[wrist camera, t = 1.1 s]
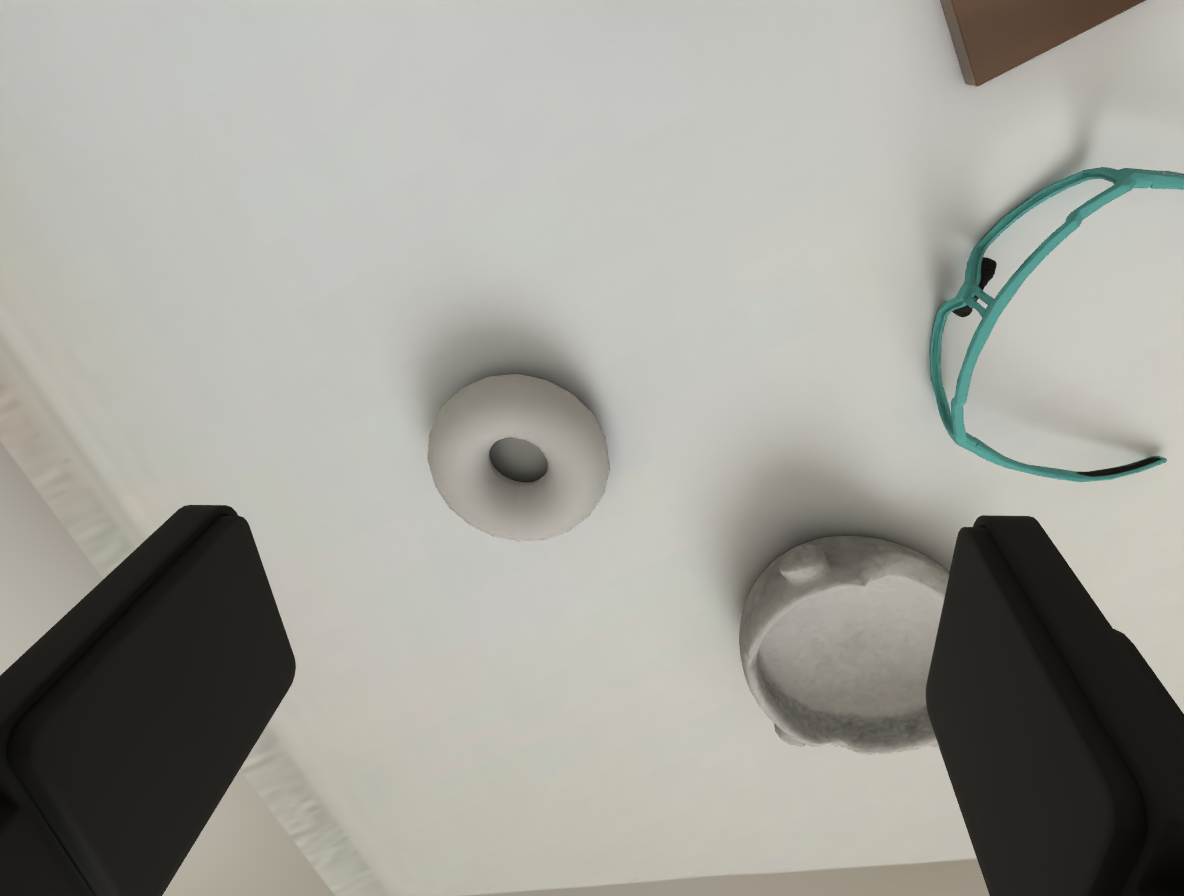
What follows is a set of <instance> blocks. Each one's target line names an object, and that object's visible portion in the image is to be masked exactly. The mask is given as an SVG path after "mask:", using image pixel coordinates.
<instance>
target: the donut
mask: <svg viewBox="0 0 1184 896" xmlns="http://www.w3.org/2000/svg"><path fill="white" fill-rule="evenodd" d="M509 437H515V438H519V439H524V440H527V441H528V442H530V443H532V444H534V445H536V446H537V447H538V448H539V449H540V450H541V451H542V452H543V453H544V455H545V457H546V459H547V463H548V470H547V472H546V474H545V475H544V476H543V477H542V478H540V479H539V480H537V481H534V482H518V481H514V480H511V479H509V478H507V477H505V476H503V475H502V474H501V473H500V472H498V471H497V470H496V469H495V468H494V466H493V465H492V463H491V460H490V455H489V451H490V448H491V447H492V445H493V444H494V443H495V442H496V441H498V440H501V439H503V438H509ZM428 462H429V466H430V469H431V473H432V476H433V480H434V483H435V486H436V488H437V489H438V491H439V493H440V494H441V496H442V497H443V499H444V500H445V502H446V503H447V505H448V506H449V508H450V509H452V510H453V511H454V512H455V513H456V514H457V515H459V516H460V517H461V518H462V519H463V520H464V521H465V522H467V523H468V524H469V525H471V526H473V527H475V528H477V529H479V530H481V531H483V532H485V533H487V534H489V535H491V536H495V537H499V538H504V539H509V540H513V541H536V540H545V539H548V538H551V537H554V536H557V535H560V534H563V533H565V532H568V531H570V530H571V529H572V528H574V527H575V526H576V525H578V524H579V523H580V522H582V521H583V520H584V519H586V518H587V517H588V516H589V515H590V514H591V512H592V511H593V509H594V508H595V506H596V505H597V503H598V502H599V500H600V499H601V497H602V496H603V494H604V492H605V487H606V483H607V478H608V474H609V469H610V465H609V458H608V451H607V444H606V438H605V436H604V434H603V432H602V430H601V428H600V426H599V425H598V423H597V421H596V419H595V417H594V415H593V414H592V413H591V412H590V411H589V410H588V409H587V408H586V407H585V406H584V405H583V404H582V403H581V402H580V401H579V400H578V399H577V398H576V397H575V396H574V395H573V394H572V393H570V392H568V391H566V390H564V389H562V388H561V387H559V386H557V385H555V384H553V383H551V382H549V381H547V380H544V379H540V378H535V377H530V376H525V375H521V374H509V375H498V376H488V377H486V378H484V379H481V380H479V381H477V382H474V383H472V384H470V385H467V386H465V387H463V388H462V389H461V390H460V391H459V392H457V393H456V394H455V395H454V396H453V397H452V398H451V399H450V400H449V401H448V402H447V403H446V404H445V405H444V406H442V407H441V410H440V412H439V414H438V416H437V418H436V420H435V422H434V424H433V426H432V428H431V431H430V434H429V447H428Z"/></svg>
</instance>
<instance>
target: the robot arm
mask: <svg viewBox="0 0 1184 896" xmlns="http://www.w3.org/2000/svg"><path fill="white" fill-rule="evenodd" d="M295 669H296V666H295V658H294V655H293V652H292V649H291V646H290V643H289V640H288V637H287V634H286V631H285V629H284V626H283V623H282V620H281V617H280V614H279V611H278V608H277V605H276V602H275V599H274V597H273V594H272V591H271V588H270V585H269V582H268V579H267V576H266V573H265V570H264V567H263V565H262V562H261V559H260V556H259V553H258V550H257V547H256V544H255V541H254V538H253V535H252V533H251V530H250V527H249V524H248V522H247V521H246V520H245V519H244V518H243V517H240V516H238V515H237V513H236V511H235V510H234V509H233V508H232V507H229V506H226V505H188V506H184V507H182V508H180V509H179V510H178V511H177V512H175V513H174V514H173V515H172V516H171V517H170V518H169V519H168V520H167V521H166V522H165V523H164V524H163V525H161V526H160V527H159V528H158V529H157V530H156V531H155V532H154V533H153V534H152V535H151V536H150V537H149V538H148V539H146V540H145V541H144V542H143V543H142V544H141V545H140V546H139V547H138V548H137V549H136V550H135V551H134V552H133V553H131V554H130V555H129V556H128V557H127V558H126V559H125V560H124V561H123V562H122V563H121V564H120V565H119V566H118V567H116V568H115V569H114V570H113V571H112V572H111V573H110V574H109V575H108V576H107V577H106V578H105V579H104V580H102V581H101V582H100V583H99V584H98V585H97V586H96V587H95V588H94V589H93V590H92V591H91V592H90V593H89V594H87V596H85V597H84V598H83V599H82V600H81V601H80V602H79V603H78V604H77V605H76V606H75V607H74V608H72V609H71V610H70V611H69V612H68V613H67V614H66V615H65V616H64V617H63V618H62V619H61V620H60V621H59V622H58V623H56V624H55V625H54V626H53V627H52V628H51V629H50V630H49V631H48V632H47V633H46V634H45V635H44V636H43V637H41V638H40V639H39V640H38V641H37V642H36V643H35V644H34V645H33V646H32V647H31V648H30V649H28V650H27V651H26V652H25V653H24V654H23V655H22V656H21V657H20V658H19V659H18V660H17V661H16V662H15V663H14V664H12V665H11V666H10V667H9V668H8V669H7V670H6V671H5V672H4V673H3V674H2V675H1V676H0V896H162V895H163V893H164V891H165V890H166V888H167V887H168V885H169V884H170V882H171V880H172V878H173V877H174V875H175V874H176V872H177V870H178V869H179V867H180V866H181V864H182V862H183V861H184V859H185V857H186V856H187V854H188V852H189V851H190V849H191V848H192V846H193V844H194V843H195V841H196V839H197V838H198V836H199V834H200V833H201V831H202V830H203V828H204V826H205V825H206V823H207V822H208V820H209V818H210V817H211V815H212V813H213V812H214V810H215V808H216V807H217V805H218V804H219V802H220V800H221V799H222V797H223V796H224V794H225V792H226V791H227V789H228V787H229V785H230V784H231V783H232V781H233V779H234V777H235V776H236V774H237V773H238V771H239V769H240V768H241V766H242V765H243V763H244V761H245V760H246V758H247V756H248V755H249V753H250V752H251V750H252V748H253V747H254V745H255V743H256V742H257V740H258V739H259V737H260V735H261V734H262V732H263V730H264V729H265V727H266V726H267V724H268V722H269V721H270V719H271V717H272V716H273V714H274V712H275V711H276V709H277V708H278V706H279V704H280V703H281V701H282V699H283V698H284V696H285V695H286V693H287V691H288V690H289V688H290V686H291V684H292V682H293V679H294V676H295ZM926 706H927V712H928V715H929V719H930V722H931V725H932V728H933V730H934V733H935V736H936V739H937V742H938V745H939V748H940V751H941V754H942V757H943V760H944V763H945V766H946V769H947V771H948V774H949V777H950V780H951V783H952V786H953V789H954V792H955V795H956V798H957V801H958V804H959V807H960V810H961V812H962V815H963V818H964V821H965V824H966V827H967V830H968V833H969V836H970V839H971V842H972V845H973V848H974V851H975V853H976V856H977V859H978V862H979V865H980V868H981V871H982V874H983V877H984V880H985V883H986V886H987V889H988V891H989V894H990V896H1184V714H1183V713H1182V711H1181V710H1180V708H1179V707H1178V706H1177V704H1176V703H1175V701H1174V700H1173V699H1172V697H1171V696H1170V694H1169V693H1168V692H1167V690H1166V689H1165V687H1164V686H1163V685H1162V683H1161V682H1160V680H1159V679H1158V678H1157V676H1156V675H1155V673H1154V672H1153V671H1152V669H1151V668H1150V666H1149V665H1148V664H1147V662H1146V661H1145V659H1144V658H1143V657H1142V655H1141V654H1140V652H1139V651H1138V650H1137V648H1136V647H1135V645H1134V644H1133V643H1132V642H1131V641H1130V640H1129V639H1128V638H1127V637H1126V636H1125V634H1123V633H1121V632H1119V631H1117V630H1115V629H1113V628H1112V627H1111V625H1110V624H1109V622H1108V621H1107V620H1106V618H1105V617H1104V615H1103V614H1102V612H1101V611H1100V610H1099V608H1098V607H1097V605H1096V604H1095V602H1094V601H1093V600H1092V598H1091V597H1090V595H1089V594H1088V592H1087V591H1086V590H1085V588H1084V587H1083V585H1082V584H1081V582H1080V581H1079V579H1078V578H1077V577H1076V575H1075V574H1074V572H1073V571H1072V569H1071V568H1070V567H1069V565H1068V564H1067V562H1066V561H1065V559H1064V558H1063V557H1062V555H1061V554H1060V552H1059V551H1058V549H1057V548H1056V547H1055V545H1054V544H1053V542H1052V541H1051V539H1050V538H1049V537H1048V535H1047V534H1046V532H1045V531H1044V529H1043V528H1042V527H1041V525H1040V524H1039V522H1038V521H1037V520H1036V519H1035V518H1033V517H1030V516H980V517H978V518H977V520H976V521H975V523H974V526H973V527H963V528H961V530H960V531H959V533H958V537H957V541H956V545H955V550H954V555H953V560H952V564H951V569H950V574H949V579H948V583H947V588H946V593H945V598H944V603H943V607H942V612H941V617H940V622H939V626H938V631H937V636H936V641H935V645H934V650H933V655H932V660H931V664H930V669H929V674H928V679H927V684H926Z"/></svg>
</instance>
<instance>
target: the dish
mask: <svg viewBox="0 0 1184 896" xmlns="http://www.w3.org/2000/svg"><path fill="white" fill-rule="evenodd" d="M949 574H950V573H949V572H948V571H946V570H945V569H944V568H943V567H941V566H940V565H939V564H937V563H936V562H934V561H933V560H931V559H930V558H928V557H926V556H924V555H922V554H920V553H918V552H916V551H914V550H912V549H909V548H907V547H904V546H902V545H899V544H895V543H892V542H888V541H885V540H881V539H876V538H870V537H863V536H832V537H824V538H820V539H817V540H814V541H810V542H807V543H804V544H802V545H799V546H797V547H794V548H792V549H791V550H789V551H787V552H786V553H784V554H782V555H781V556H780V557H778V558H777V559H776V560H774V561H773V562H772V563H771V564H770V565H769V566H768V567H767V568H766V569H765V570H764V571H763V572H762V573H761V575H760V576H759V577H758V578H757V580H756V581H755V583H754V584H753V586H752V588H751V590H750V592H749V595H748V597H747V599H746V602H745V606H744V609H743V613H742V618H741V624H740V635H739V644H740V655H741V661H742V666H743V670H744V674H745V677H746V680H747V683H748V686H749V688H750V691H751V692H752V694H753V696H754V698H755V699H756V701H757V702H758V704H759V706H760V707H761V708H762V709H763V711H764V712H765V713H766V715H767V716H768V717H769V718H770V719H771V720H772V721H773V722H774V726H775V731H776V733H777V734H778V735H779V737H780V738H781V739H782V740H783V741H784V742H786V743H788V744H790V745H794V746H804V745H805V744H806V745H809V746H812V747H815V746H822V745H831V746H840V747H843V748H847V749H849V750H851V751H854V752H857V753H861V754H876V753H880V754H888V753H897V752H902V751H906V750H913V749H918V748H922V747H926V746H932V747H939V745H938V742H937V739H936V736H935V733H934V730H933V728H932V725H931V722H930V719H929V715H928V712H927V706H926V684H927V679H928V674H929V669H930V664H931V660H932V655H933V650H934V645H935V641H936V636H937V631H938V626H939V622H940V617H941V612H942V607H943V603H944V598H945V593H946V588H947V583H948V579H949Z"/></svg>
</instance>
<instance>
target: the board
mask: <svg viewBox="0 0 1184 896" xmlns="http://www.w3.org/2000/svg"><path fill="white" fill-rule="evenodd" d="M940 1H941V4H942V8H943V11H944V14H945V18H946V21H947V24H948V27H949V31H950V34H951V37H952V41H953V44H954V47H955V51H956V54H957V57H958V61H959V64H960V67H961V70H962V74H963V77H964V80H965V83H966V84H968V85H973V86H980V85H982V84H984V83H985V82H987V81H989V80H991V79H993V78H995V77H997V76H999V75H1001V74H1003V73H1005V72H1007V71H1009V70H1011V69H1013V68H1015V67H1017V66H1019V65H1021V64H1023V63H1025V62H1026V61H1028V60H1030V59H1032V58H1034V57H1036V56H1038V55H1040V54H1042V53H1044V52H1046V51H1048V50H1050V49H1052V48H1054V47H1056V46H1058V45H1060V44H1062V43H1064V42H1066V41H1067V40H1069V39H1071V38H1073V37H1075V36H1077V35H1079V34H1081V33H1083V32H1085V31H1087V30H1089V29H1091V28H1093V27H1095V26H1097V25H1099V24H1101V23H1103V22H1105V21H1107V20H1108V19H1110V18H1112V17H1114V16H1116V15H1118V14H1120V13H1122V12H1124V11H1126V10H1128V9H1130V8H1132V7H1134V6H1136V5H1138V4H1140V3H1142V2H1144V1H1146V0H940Z"/></svg>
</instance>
